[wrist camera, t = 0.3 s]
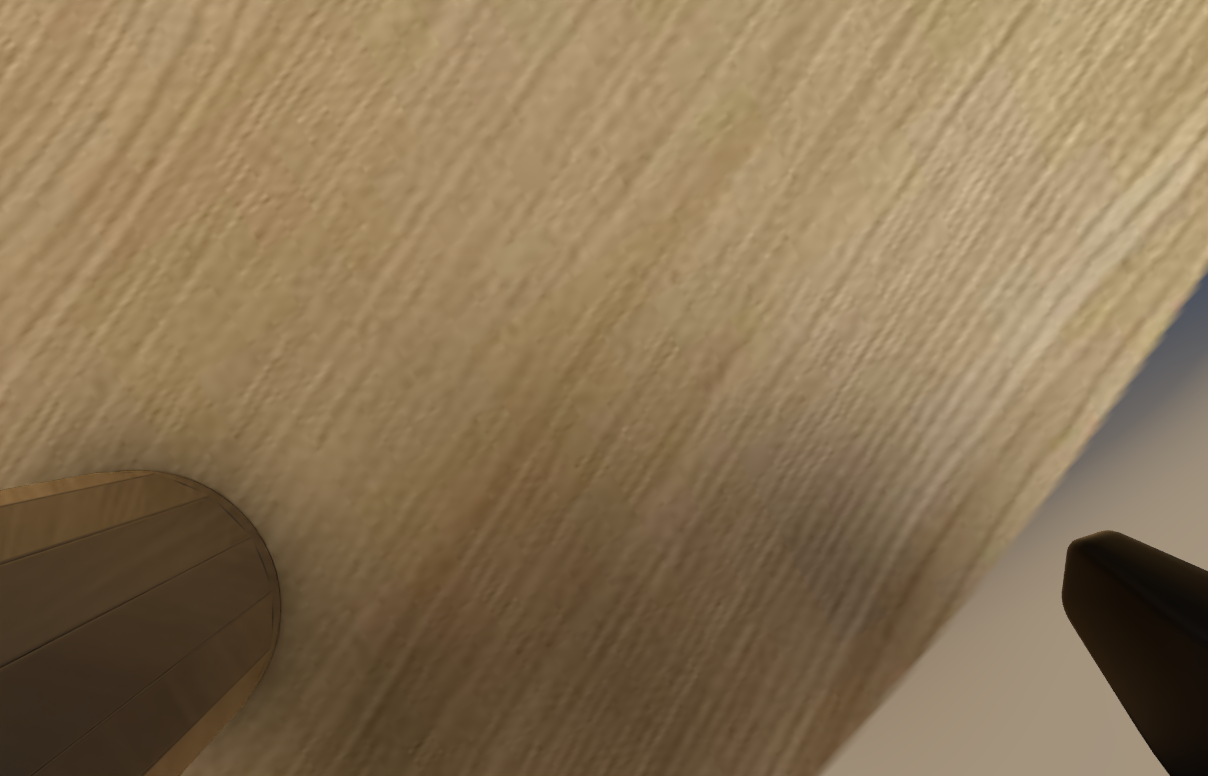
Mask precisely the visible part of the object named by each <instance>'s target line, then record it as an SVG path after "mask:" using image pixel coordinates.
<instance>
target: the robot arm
mask: <svg viewBox="0 0 1208 776" xmlns="http://www.w3.org/2000/svg"><path fill="white" fill-rule="evenodd" d="M1062 602H1063V607H1064V610H1065V612H1066V615H1067V617H1068V619H1069V620H1070V622H1071V624H1072V625H1073V627H1074V629H1075V630H1076V632H1077V633H1078V635H1079V637H1080V638H1081V640H1082V641H1083V643H1084V645H1085V646H1086V648H1087V649H1088V651H1089V652H1090V654H1091V656H1092V657H1093V659H1094V660H1095V662H1096V664H1097V665H1098V667H1099V668H1100V670H1101V672H1102V673H1103V675H1104V676H1105V678H1106V680H1107V681H1108V683H1109V684H1110V686H1111V688H1112V689H1113V691H1114V692H1115V694H1116V696H1117V697H1118V699H1119V700H1120V702H1121V704H1122V705H1123V706H1124V708H1125V710H1126V711H1127V713H1128V715H1129V716H1130V718H1131V719H1132V721H1133V723H1134V724H1135V726H1136V727H1137V729H1138V731H1139V732H1140V734H1141V735H1142V737H1143V738H1144V740H1145V741H1146V743H1147V744H1148V746H1149V747H1150V749H1151V750H1152V752H1153V753H1154V755H1155V756H1156V757H1157V759H1158V760H1159V761H1160V763H1161V764H1162V765H1163V767H1164V768H1165V769H1166V771H1167V772H1168V773H1169V775H1170V776H1208V571H1206V570H1204V569H1201V568H1199V567H1197V566H1195V565H1192V564H1190V563H1188V562H1185V561H1183V560H1181V559H1178V558H1176V557H1174V556H1172V555H1169V554H1167V553H1165V552H1163V551H1160V550H1158V549H1156V548H1153V547H1151V546H1149V545H1147V544H1144V543H1142V542H1140V541H1137V540H1135V539H1133V538H1131V537H1128V536H1126V535H1123V534H1121V533H1119V532H1114V531H1101V532H1097V533H1095V534H1092V535H1088V536H1085V537H1082V538H1079V539H1076V540H1074V541H1073V542H1072V543H1071V544H1070V545H1069V547H1068V550H1067V556H1066V563H1065V572H1064V580H1063V587H1062Z"/></svg>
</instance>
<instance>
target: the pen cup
mask: <svg viewBox="0 0 1208 776" xmlns="http://www.w3.org/2000/svg"><path fill="white" fill-rule="evenodd" d="M280 613H281V609H280V591H279V586H278V580H277V575H276V572H275V569H274V566H273V563H272V560H271V557H270V555H269V553H268V551H267V549H266V547H265V544H264V542H263V541H262V539H261V538H260V536H259V535H258V533H257V532H256V530H255V529H254V527H253V526H252V524H251V523H250V522H249V521H248V520H247V519H246V518H245V516H244V515H243V514H242V513H241V512H240V511H239V510H238V509H237V508H235V507H234V506H233V505H232V504H231V503H230V502H229V501H227V500H226V499H225V498H223V497H222V496H220V495H219V494H217V493H216V492H214V491H213V490H211V489H209V488H207V487H205V486H203V485H201V484H199V483H197V482H195V481H192V480H189V479H186V478H183V477H180V476H177V475H173V474H168V473H163V472H158V471H145V470H131V471H118V472H112V473H109V472H97V473H92V474H86V475H81V476H75V477H70V478H64V479H59V480H53V481H48V482H42V483H37V484H31V485H26V486H20V487H15V488H9V489H4V490H0V776H180V775H181V774H182V773H183V771H184V770H185V769H186V768H187V767H188V766H189V765H190V764H191V763H192V762H193V760H194V759H195V758H196V757H197V756H198V755H199V754H200V753H201V752H202V750H203V749H204V748H205V747H206V746H207V745H208V744H209V743H210V742H211V741H212V739H213V738H214V737H215V736H216V735H217V734H218V733H219V732H220V731H221V730H222V728H223V727H224V726H225V725H226V724H227V723H228V722H229V721H230V720H231V719H232V717H233V716H234V715H235V714H236V713H237V712H238V711H239V710H240V709H241V707H242V706H243V705H244V704H245V703H246V702H247V700H248V699H249V697H250V695H251V693H252V692H253V690H254V689H255V687H256V686H257V685H258V683H259V682H260V680H261V678H262V676H263V674H264V672H265V671H266V669H267V667H268V665H269V662H270V659H271V657H272V654H273V651H274V649H275V645H276V641H277V636H278V632H279V624H280Z"/></svg>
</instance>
